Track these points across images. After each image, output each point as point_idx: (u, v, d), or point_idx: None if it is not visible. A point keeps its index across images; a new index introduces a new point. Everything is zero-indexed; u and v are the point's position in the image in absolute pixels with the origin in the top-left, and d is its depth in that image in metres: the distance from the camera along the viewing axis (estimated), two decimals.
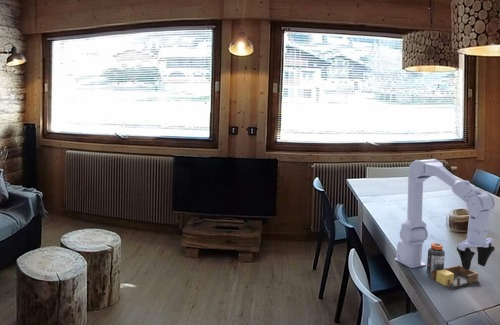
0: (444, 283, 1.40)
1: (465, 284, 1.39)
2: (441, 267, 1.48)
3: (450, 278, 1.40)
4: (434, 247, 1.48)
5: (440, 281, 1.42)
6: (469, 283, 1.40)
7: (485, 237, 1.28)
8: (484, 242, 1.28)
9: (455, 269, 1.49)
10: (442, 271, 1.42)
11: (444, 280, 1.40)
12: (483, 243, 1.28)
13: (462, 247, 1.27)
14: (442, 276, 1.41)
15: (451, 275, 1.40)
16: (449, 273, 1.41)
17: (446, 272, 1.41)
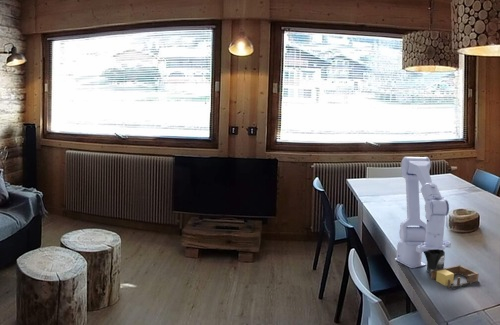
0: (444, 283, 1.40)
1: (465, 284, 1.39)
2: (441, 267, 1.48)
3: (450, 278, 1.40)
4: None
5: (440, 281, 1.42)
6: (469, 283, 1.40)
7: (441, 240, 1.34)
8: (440, 245, 1.35)
9: (455, 269, 1.49)
10: (442, 271, 1.42)
11: (444, 280, 1.40)
12: (439, 246, 1.34)
13: (419, 249, 1.34)
14: (442, 276, 1.41)
15: (451, 275, 1.40)
16: (449, 273, 1.41)
17: (446, 272, 1.41)
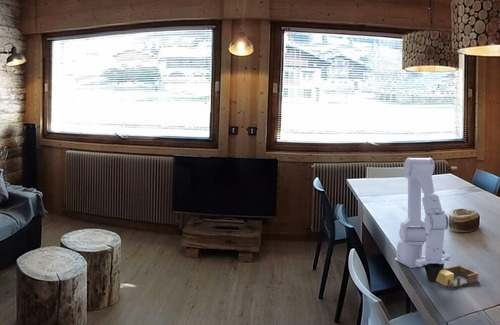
0: (444, 283, 1.40)
1: (465, 284, 1.39)
2: None
3: (450, 278, 1.40)
4: None
5: (440, 281, 1.42)
6: (469, 283, 1.40)
7: (440, 254, 1.35)
8: (440, 259, 1.36)
9: (455, 269, 1.49)
10: (442, 271, 1.42)
11: (444, 280, 1.40)
12: (439, 260, 1.35)
13: (419, 263, 1.35)
14: (442, 276, 1.41)
15: (451, 275, 1.40)
16: (449, 273, 1.41)
17: (446, 272, 1.41)
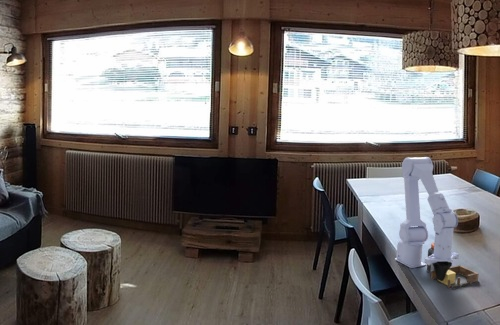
0: (446, 282, 1.40)
1: (465, 284, 1.39)
2: None
3: (452, 277, 1.41)
4: None
5: None
6: (469, 283, 1.40)
7: (449, 252, 1.37)
8: (449, 257, 1.37)
9: (455, 269, 1.49)
10: None
11: (446, 279, 1.40)
12: (448, 258, 1.37)
13: (428, 261, 1.37)
14: None
15: (453, 274, 1.41)
16: (451, 272, 1.41)
17: (448, 272, 1.42)
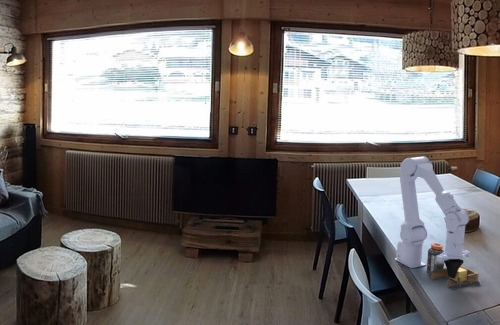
0: None
1: (465, 284, 1.39)
2: (441, 267, 1.48)
3: (463, 275, 1.43)
4: (434, 247, 1.48)
5: (453, 278, 1.44)
6: (469, 283, 1.40)
7: (461, 250, 1.39)
8: (460, 254, 1.39)
9: None
10: None
11: None
12: (459, 255, 1.39)
13: (440, 259, 1.39)
14: None
15: (464, 272, 1.43)
16: (462, 270, 1.43)
17: (459, 269, 1.44)
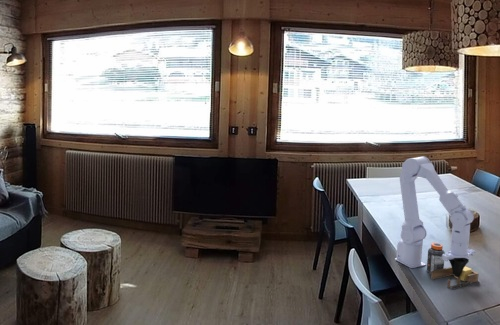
0: (463, 278, 1.43)
1: (465, 284, 1.39)
2: (441, 267, 1.48)
3: (468, 273, 1.44)
4: (434, 247, 1.48)
5: None
6: (469, 283, 1.40)
7: (466, 249, 1.40)
8: (465, 253, 1.40)
9: None
10: None
11: (463, 275, 1.43)
12: (465, 254, 1.40)
13: (445, 257, 1.40)
14: None
15: (469, 270, 1.44)
16: (467, 269, 1.44)
17: (464, 268, 1.45)
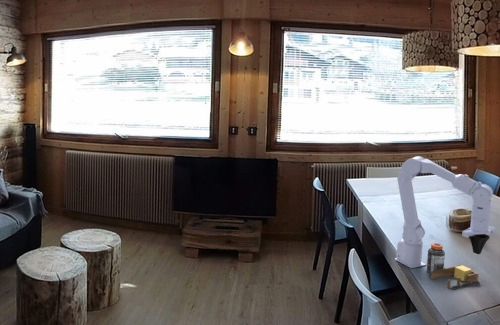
0: (463, 279, 1.44)
1: (465, 284, 1.39)
2: (441, 267, 1.48)
3: (468, 274, 1.44)
4: (434, 247, 1.48)
5: None
6: (469, 283, 1.40)
7: (487, 225, 1.39)
8: (486, 230, 1.39)
9: None
10: (460, 267, 1.46)
11: (463, 276, 1.43)
12: (485, 231, 1.39)
13: (466, 234, 1.38)
14: (460, 272, 1.44)
15: (469, 271, 1.44)
16: (467, 269, 1.44)
17: (464, 268, 1.45)
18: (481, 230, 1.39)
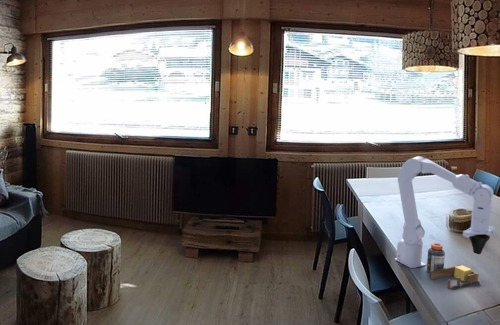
0: (463, 279, 1.44)
1: (465, 284, 1.39)
2: (441, 267, 1.48)
3: (468, 274, 1.44)
4: (434, 247, 1.48)
5: None
6: (469, 283, 1.40)
7: (488, 225, 1.39)
8: (487, 230, 1.39)
9: None
10: (460, 267, 1.46)
11: (463, 276, 1.43)
12: (486, 231, 1.39)
13: (466, 234, 1.38)
14: (460, 272, 1.44)
15: (469, 271, 1.44)
16: (467, 269, 1.44)
17: (464, 268, 1.45)
18: (481, 230, 1.39)
